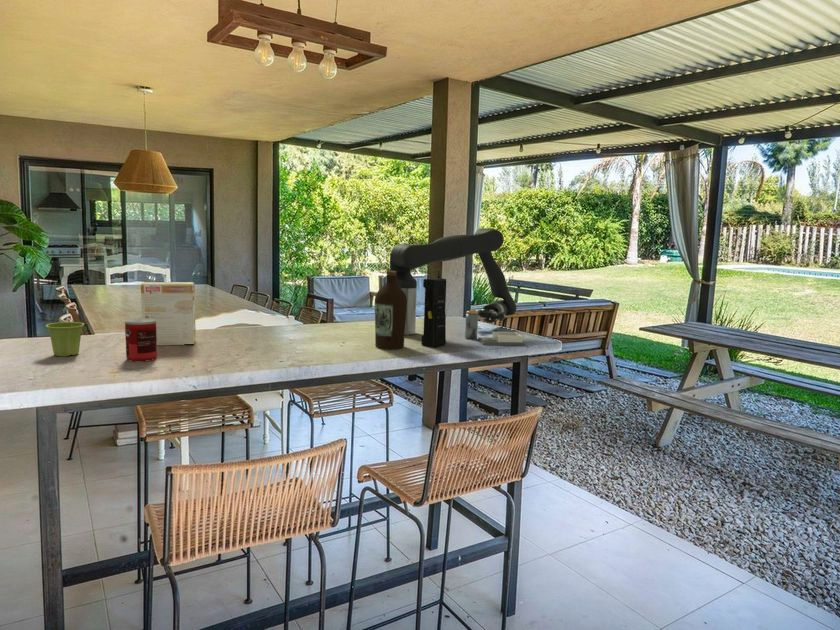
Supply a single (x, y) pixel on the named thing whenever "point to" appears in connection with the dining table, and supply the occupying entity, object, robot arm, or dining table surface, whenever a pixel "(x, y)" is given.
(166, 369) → the dining table surface
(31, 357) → the dining table surface
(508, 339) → the tester board
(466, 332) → the cell
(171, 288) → the coffeecake box
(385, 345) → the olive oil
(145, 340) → the canned food
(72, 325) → the plant pot
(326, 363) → the dining table surface
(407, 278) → the robot arm
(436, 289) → the portable radio
